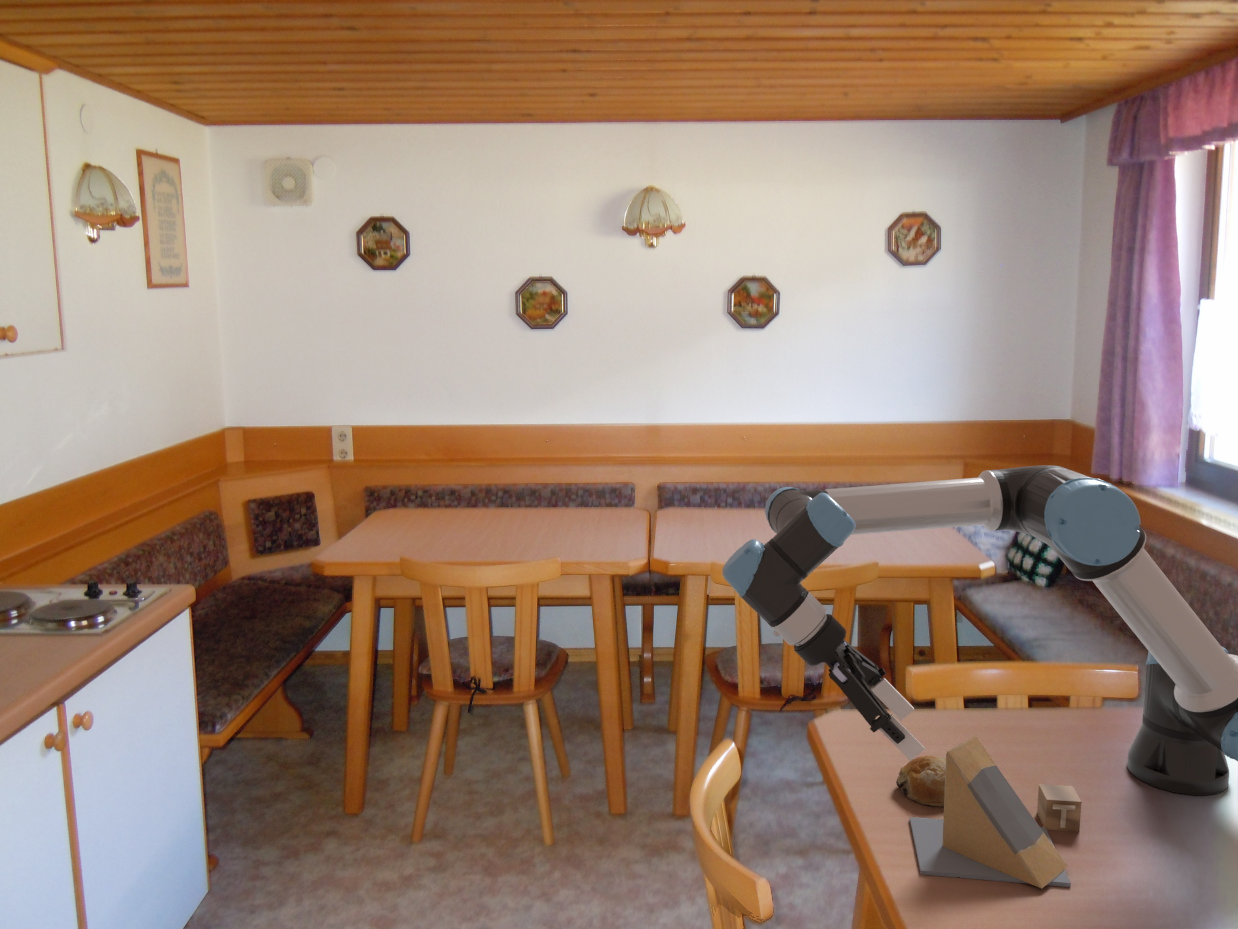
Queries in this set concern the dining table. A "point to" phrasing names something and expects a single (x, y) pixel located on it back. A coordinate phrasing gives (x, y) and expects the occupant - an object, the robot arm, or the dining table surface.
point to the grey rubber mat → (957, 856)
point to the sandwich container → (993, 819)
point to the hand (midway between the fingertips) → (912, 733)
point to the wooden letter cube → (1059, 807)
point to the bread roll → (924, 780)
